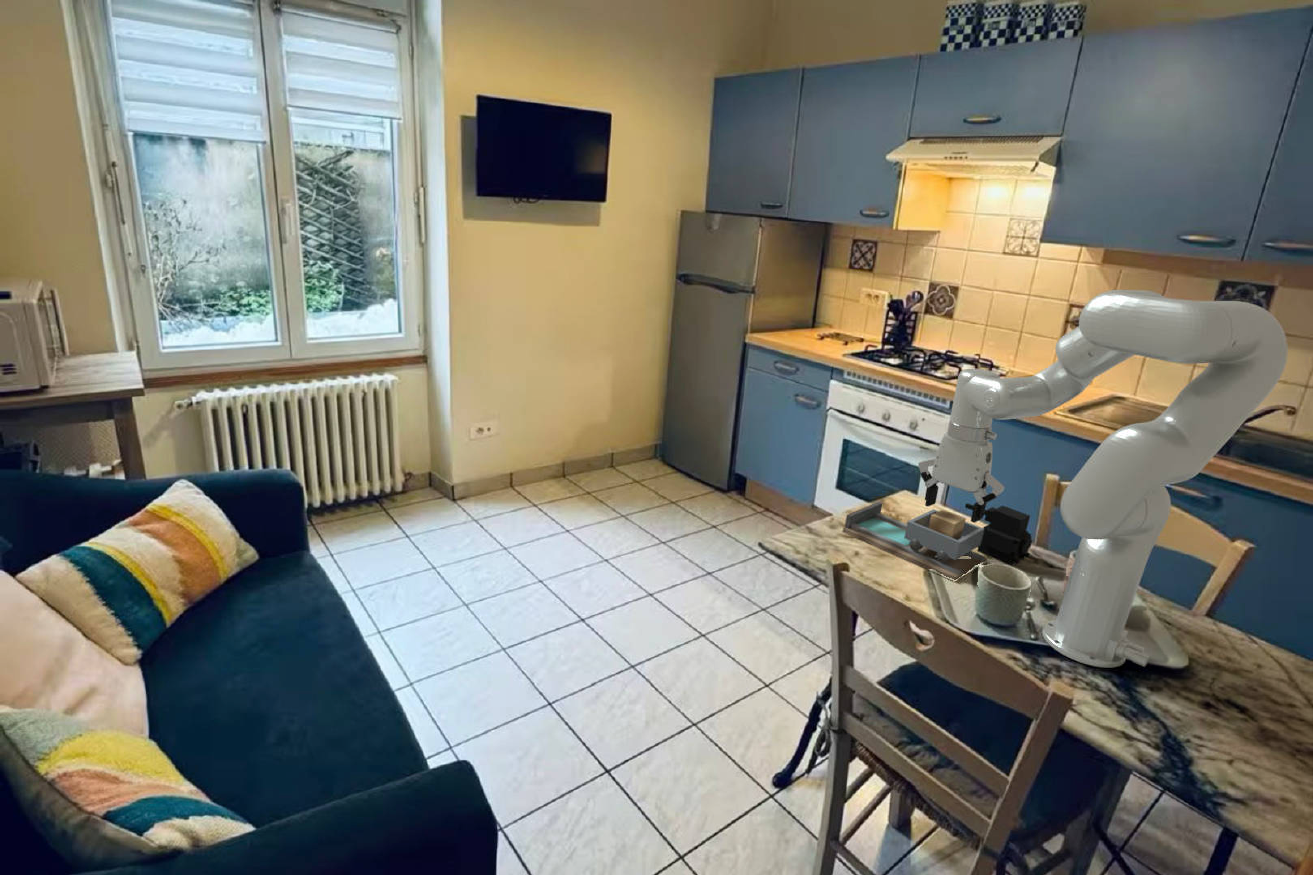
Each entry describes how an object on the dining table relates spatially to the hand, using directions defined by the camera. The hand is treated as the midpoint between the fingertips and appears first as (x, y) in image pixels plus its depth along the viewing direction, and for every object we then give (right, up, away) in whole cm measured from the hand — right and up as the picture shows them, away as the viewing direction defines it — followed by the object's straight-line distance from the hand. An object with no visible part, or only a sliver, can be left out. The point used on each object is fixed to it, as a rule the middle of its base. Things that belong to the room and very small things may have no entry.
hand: (952, 512), depth 146 cm
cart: (-1, -8, +4) cm, 9 cm away
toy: (+12, -9, +10) cm, 18 cm away
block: (-1, -6, +3) cm, 6 cm away
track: (-5, -8, +8) cm, 13 cm away
